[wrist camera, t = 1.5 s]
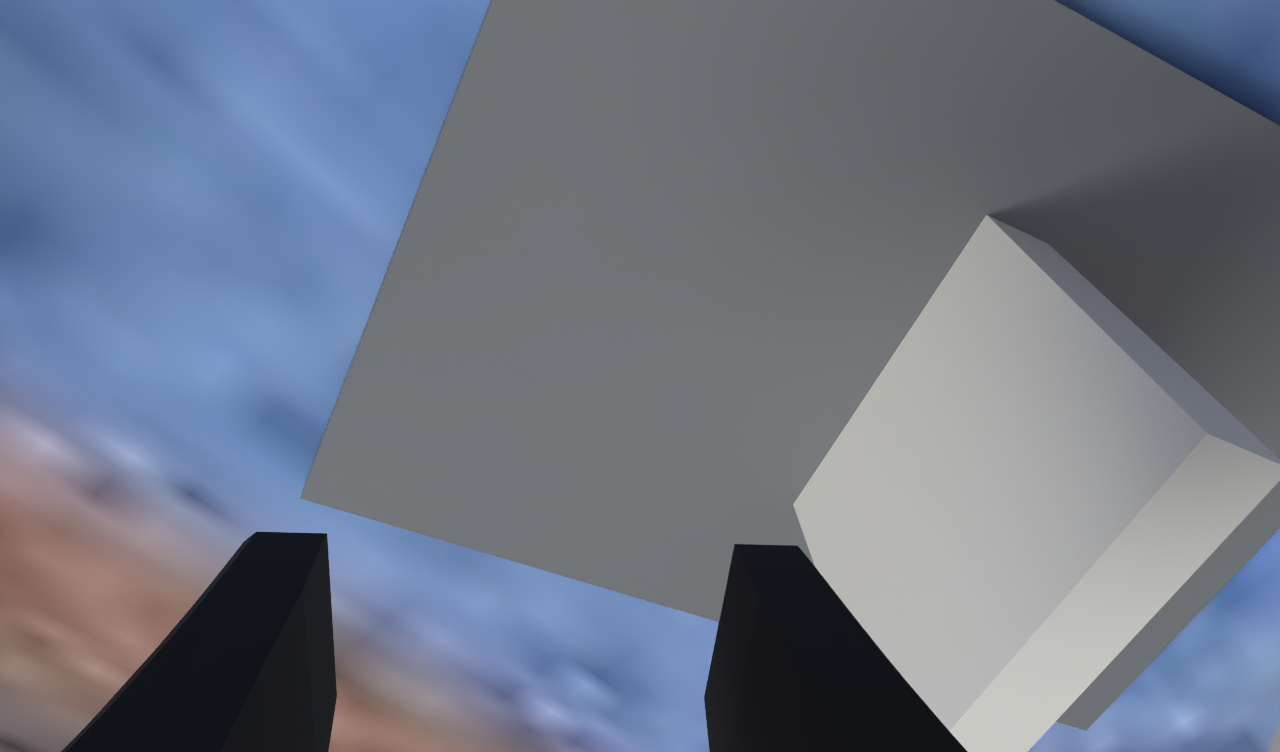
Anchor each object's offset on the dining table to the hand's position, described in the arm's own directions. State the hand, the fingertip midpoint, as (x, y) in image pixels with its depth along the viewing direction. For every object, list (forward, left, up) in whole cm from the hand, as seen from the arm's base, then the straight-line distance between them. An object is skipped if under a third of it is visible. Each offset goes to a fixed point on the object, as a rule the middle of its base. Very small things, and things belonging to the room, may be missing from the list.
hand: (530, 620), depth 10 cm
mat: (-8, 0, -10) cm, 13 cm away
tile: (-8, 0, -9) cm, 12 cm away
